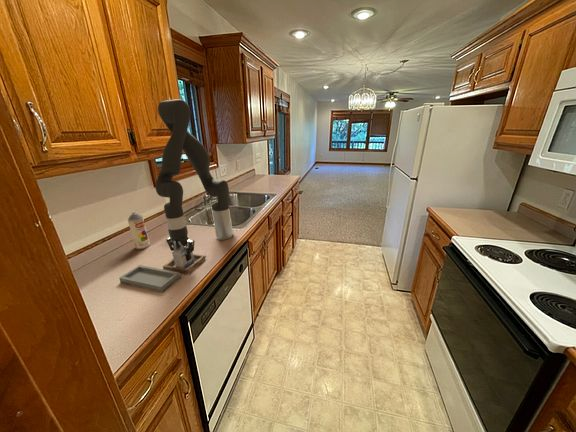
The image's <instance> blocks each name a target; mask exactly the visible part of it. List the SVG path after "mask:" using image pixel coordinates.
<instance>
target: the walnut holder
mask: <svg viewBox="0 0 576 432" xmlns="http://www.w3.org/2000/svg"><path fill="white" fill-rule="evenodd" d="M193 257H194V260H196V261H195V262H194V261H193V262H192V263H191V264H190V265H189V266H187V267H186V268H185V269H183V268H177V267H175V266H173V265H175V262H174V258H172V259H171V260H169V261H168V262H166V263H165V264H164V265H163V266H162V269H164V270H169V271H174V272H180V274H183V275H189V274H191V272H193V271H194V270H195V269H196V268H197V267H198V266H199V265H201V264H202V263H203V262H204V261H206V255H203V254H198V253H197V254H196V253H193Z"/></svg>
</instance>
